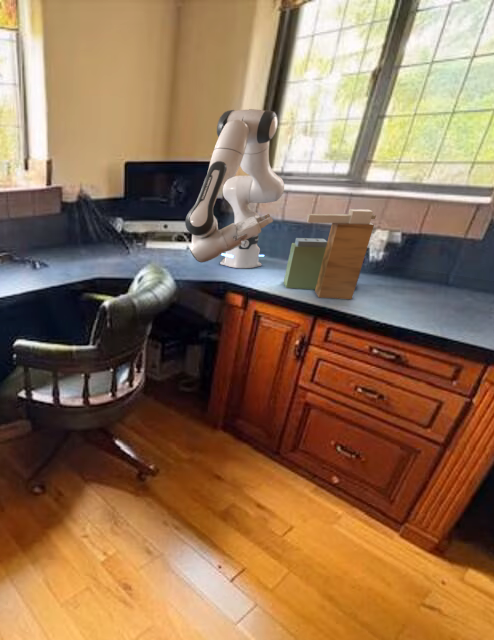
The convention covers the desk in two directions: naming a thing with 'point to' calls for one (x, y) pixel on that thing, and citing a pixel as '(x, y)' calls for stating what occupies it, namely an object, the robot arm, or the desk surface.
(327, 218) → the beige stepped bar
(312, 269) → the green upright rectangular block
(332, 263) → the oak stand
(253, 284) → the desk surface
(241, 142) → the robot arm
